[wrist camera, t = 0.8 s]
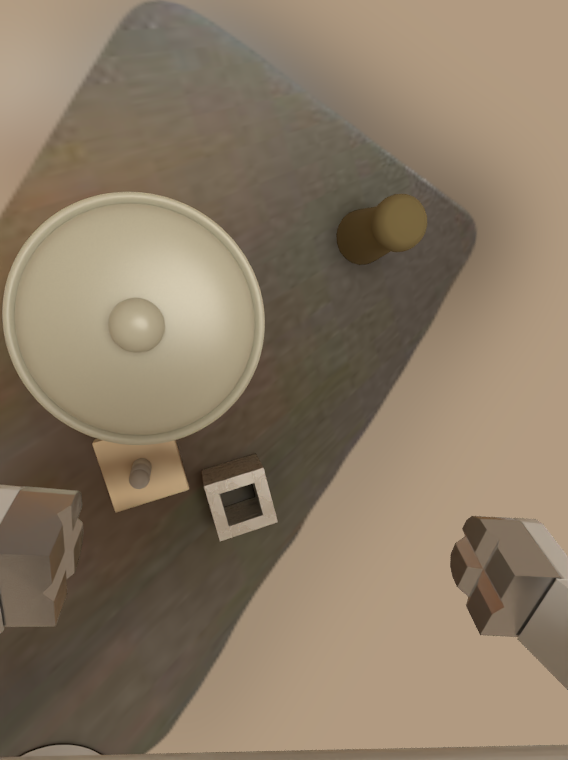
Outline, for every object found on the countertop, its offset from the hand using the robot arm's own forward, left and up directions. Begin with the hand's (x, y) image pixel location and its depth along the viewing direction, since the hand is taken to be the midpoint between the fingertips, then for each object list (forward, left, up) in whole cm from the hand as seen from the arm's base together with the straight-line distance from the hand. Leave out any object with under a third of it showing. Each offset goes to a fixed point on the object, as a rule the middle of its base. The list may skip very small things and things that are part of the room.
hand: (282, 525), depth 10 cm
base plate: (-11, +9, -43) cm, 45 cm away
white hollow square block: (-17, 0, -43) cm, 46 cm away
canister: (+4, +4, -43) cm, 43 cm away
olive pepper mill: (+7, -21, -43) cm, 48 cm away
